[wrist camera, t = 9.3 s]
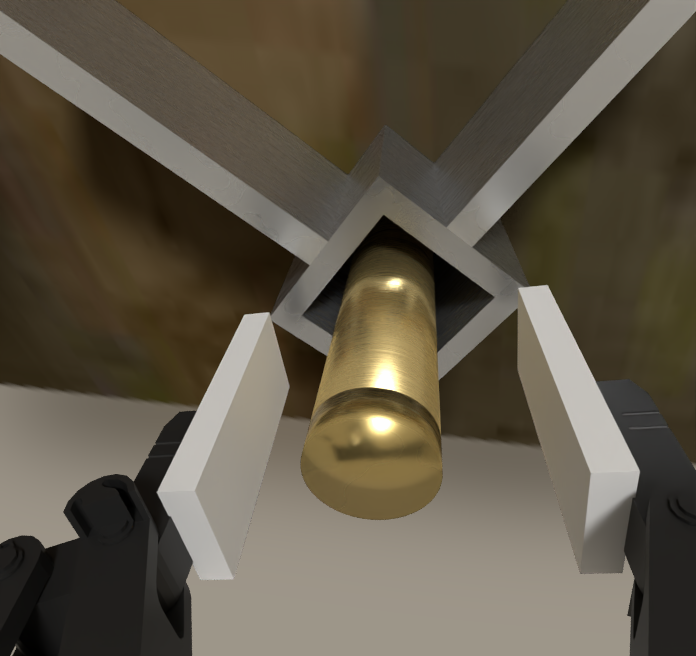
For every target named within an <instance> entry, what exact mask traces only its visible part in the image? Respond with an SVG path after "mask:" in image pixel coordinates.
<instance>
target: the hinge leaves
mask: <svg viewBox="0 0 696 656" xmlns="http://www.w3.org/2000/svg"><path fill="white" fill-rule="evenodd" d="M695 12H696V0H568V1H567V2H566V4H565V5H564V6H563V7H562V8H561V10H560V11H559V12H558V13H557V15H556V16H555V17H554V18H553V19H552V21H551V22H550V23H549V24H548V25H547V27H546V28H545V29H544V30H543V32H542V33H541V34H540V35H539V36H538V38H537V39H536V40H535V41H534V43H533V44H532V45H531V46H530V47H529V49H528V50H527V51H526V52H525V54H524V55H523V56H522V57H521V58H520V60H519V61H518V62H517V63H516V65H515V66H514V67H513V68H512V69H511V71H510V72H509V73H508V74H507V76H506V77H505V78H504V79H503V80H502V82H501V83H500V84H499V85H498V87H497V88H496V89H495V90H494V91H493V93H492V94H491V95H490V96H489V97H488V99H487V100H486V101H485V102H484V104H483V105H482V106H481V107H480V108H479V110H478V111H477V112H476V113H475V115H474V116H473V117H472V118H471V119H470V121H469V122H468V123H467V124H466V126H465V127H464V128H463V129H462V130H461V132H460V133H459V134H458V135H457V137H456V138H455V139H454V140H453V141H452V143H451V144H450V145H449V146H448V148H447V149H446V150H445V151H444V152H443V154H442V155H441V156H440V157H439V158H438V160H437V161H436V162H435V163H433V162H432V161H431V160H429V159H428V158H427V157H425V156H424V155H423V154H422V153H420V152H419V151H418V150H417V149H415V148H414V147H413V146H412V145H410V144H409V143H408V142H407V141H405V140H404V139H403V138H402V137H400V136H399V135H398V134H397V133H395V132H394V131H393V130H392V129H390V128H389V127H388V126H387V125H385V126H384V127H383V128H382V130H381V131H380V132H379V134H378V135H377V137H376V138H375V139H374V141H373V142H372V143H371V145H370V146H369V147H368V149H367V150H366V152H365V153H364V154H363V156H362V157H361V158H360V160H359V161H358V162H357V164H356V165H355V167H354V168H353V169H352V171H351V172H350V173H349V175H347V174H346V173H344V172H343V171H342V170H340V169H339V168H338V167H336V166H335V165H334V164H332V163H331V162H330V161H328V160H327V159H326V158H324V157H323V156H322V155H320V154H319V153H318V152H316V151H315V150H314V149H312V148H311V147H310V146H308V145H307V144H306V143H304V142H303V141H302V140H300V139H299V138H298V137H296V136H295V135H294V134H292V133H291V132H290V131H288V130H287V129H286V128H284V127H283V126H282V125H280V124H279V123H278V122H276V121H275V120H274V119H272V118H271V117H270V116H268V115H267V114H266V113H264V112H263V111H262V110H260V109H259V108H258V107H256V106H255V105H254V104H252V103H251V102H250V101H248V100H247V99H246V98H244V97H243V96H242V95H240V94H239V93H238V92H236V91H235V90H234V89H232V88H231V87H230V86H228V85H227V84H226V83H224V82H223V81H222V80H220V79H219V78H218V77H216V76H215V75H214V74H212V73H211V72H210V71H208V70H207V69H206V68H204V67H203V66H202V65H200V64H199V63H198V62H196V61H195V60H194V59H192V58H191V57H190V56H188V55H187V54H186V53H184V52H183V51H182V50H180V49H179V48H178V47H176V46H175V45H174V44H172V43H171V42H170V41H168V40H167V39H166V38H164V37H163V36H162V35H160V34H159V33H158V32H156V31H155V30H154V29H152V28H151V27H150V26H148V25H147V24H146V23H144V22H143V21H142V20H140V19H139V18H138V17H136V16H135V15H134V14H132V13H131V12H130V11H128V10H127V9H126V8H124V7H123V6H122V5H120V4H119V3H118V2H116V1H115V0H0V54H1V55H3V56H4V57H6V58H7V59H9V60H10V61H11V62H13V63H14V64H16V65H17V66H19V67H20V68H22V69H23V70H25V71H26V72H28V73H29V74H31V75H32V76H33V77H35V78H36V79H38V80H39V81H41V82H42V83H44V84H45V85H47V86H48V87H50V88H51V89H52V90H54V91H55V92H57V93H58V94H60V95H61V96H63V97H64V98H66V99H67V100H69V101H70V102H72V103H73V104H74V105H76V106H77V107H79V108H80V109H82V110H83V111H85V112H86V113H88V114H89V115H91V116H92V117H93V118H95V119H96V120H98V121H99V122H101V123H102V124H104V125H105V126H107V127H108V128H110V129H111V130H113V131H114V132H115V133H117V134H118V135H120V136H121V137H123V138H124V139H126V140H127V141H129V142H130V143H132V144H133V145H134V146H136V147H137V148H139V149H140V150H142V151H143V152H145V153H146V154H148V155H149V156H151V157H152V158H154V159H155V160H156V161H158V162H159V163H161V164H162V165H164V166H165V167H167V168H168V169H170V170H171V171H173V172H174V173H175V174H177V175H178V176H180V177H181V178H183V179H184V180H186V181H187V182H189V183H190V184H192V185H193V186H195V187H196V188H197V189H199V190H200V191H202V192H203V193H205V194H206V195H208V196H209V197H211V198H212V199H214V200H215V201H216V202H218V203H219V204H221V205H222V206H224V207H225V208H227V209H228V210H230V211H231V212H233V213H234V214H236V215H237V216H238V217H240V218H241V219H243V220H244V221H246V222H247V223H249V224H250V225H252V226H253V227H255V228H256V229H257V230H259V231H260V232H262V233H263V234H265V235H266V236H268V237H269V238H271V239H272V240H274V241H275V242H277V243H278V244H279V245H281V246H282V247H284V248H285V249H287V250H288V251H290V252H291V253H293V254H294V255H295V256H294V259H293V261H292V264H291V266H290V268H289V271H288V273H287V276H286V278H285V281H284V283H283V285H282V288H281V290H280V293H279V295H278V298H277V300H276V302H275V305H274V307H273V310H272V312H271V314H270V316H271V320H272V321H273V322H274V323H276V324H277V325H279V326H281V327H282V328H284V329H285V330H287V331H288V332H290V333H292V334H293V335H295V336H296V337H298V338H299V339H301V340H303V341H304V342H306V343H307V344H309V345H310V346H312V347H314V348H315V349H317V350H318V351H320V352H321V353H323V354H325V355H326V356H328V352H329V348H330V344H331V340H332V336H333V333H334V329H335V325H336V321H337V317H338V313H339V309H340V306H341V302H342V298H343V294H344V290H345V286H346V283H347V279H348V275H349V271H350V267H351V263H352V259H353V256H354V254H353V252H354V250H355V249H356V248H357V247H358V245H359V244H360V243H361V242H362V240H363V239H364V238H365V237H366V235H367V234H368V233H369V232H370V231H371V229H372V228H373V227H374V226H375V224H376V223H377V222H378V221H379V219H380V218H381V217H382V216H383V214H384V215H385V216H386V217H388V218H389V219H390V220H392V221H393V222H394V223H396V224H397V225H398V226H400V227H401V228H402V229H404V230H405V231H406V232H408V233H409V234H411V235H412V236H413V237H415V238H416V239H417V240H419V241H420V242H421V243H423V244H424V245H425V246H427V247H428V248H429V249H431V250H432V251H433V252H435V253H436V254H437V255H436V256H435V258H434V259H433V263H434V286H435V309H436V332H437V355H438V379H439V380H440V379H441V378H442V377H443V376H444V375H445V374H446V373H447V372H448V371H449V370H451V369H452V368H453V367H454V366H455V365H456V364H457V363H458V362H459V361H460V360H461V359H462V358H464V357H465V356H466V355H467V354H468V353H469V352H470V351H471V350H472V349H473V348H474V347H475V346H477V345H478V344H479V343H480V342H481V341H482V340H483V339H484V338H485V337H486V336H487V335H488V334H490V333H491V332H492V331H493V330H494V329H495V328H496V327H497V326H498V325H499V324H500V323H501V322H503V321H504V320H505V319H506V318H507V317H508V316H509V315H510V314H511V313H512V312H513V311H514V310H516V309H517V308H518V288H523V287H530V286H529V284H528V282H527V280H526V277H525V275H524V273H523V270H522V268H521V266H520V263H519V261H518V259H517V257H516V254H515V252H514V250H513V247H512V245H511V243H510V240H509V238H508V236H507V233H506V231H505V229H504V227H503V224H502V222H501V220H500V217H501V216H502V215H503V214H504V213H505V212H506V211H507V210H508V209H509V208H510V207H511V206H512V205H513V204H514V203H515V201H516V200H517V199H518V198H519V197H520V196H521V195H522V194H523V193H524V192H525V191H526V190H527V189H528V188H529V187H530V186H531V185H532V184H533V182H534V181H535V180H536V179H537V178H538V177H539V176H540V175H541V174H542V173H543V172H544V171H545V170H546V169H547V168H548V167H549V166H550V165H551V164H552V162H553V161H554V160H555V159H556V158H557V157H558V156H559V155H560V154H561V153H562V152H563V151H564V150H565V149H566V148H567V147H568V146H569V145H570V143H571V142H572V141H573V140H574V139H575V138H576V137H577V136H578V135H579V134H580V133H581V132H582V131H583V130H584V129H585V128H586V127H587V126H588V124H589V123H590V122H591V121H592V120H593V119H594V118H595V117H596V116H597V115H598V114H599V113H600V112H601V111H602V110H603V109H604V108H605V107H606V106H607V104H608V103H609V102H610V101H611V100H612V99H613V98H614V97H615V96H616V95H617V94H618V93H619V92H620V91H621V90H622V89H623V88H624V87H625V85H626V84H627V83H628V82H629V81H630V80H631V79H632V78H633V77H634V76H635V75H636V74H637V73H638V72H639V71H640V70H641V69H642V68H643V67H644V65H645V64H646V63H647V62H648V61H649V60H650V59H651V58H652V57H653V56H654V55H655V54H656V53H657V52H658V51H659V50H660V49H661V48H662V46H663V45H664V44H665V43H666V42H667V41H668V40H669V39H670V38H671V37H672V36H673V35H674V34H675V33H676V32H677V31H678V30H679V29H680V27H681V26H682V25H683V24H684V23H685V22H686V21H687V20H688V19H689V18H690V17H691V16H692V15H693V14H694V13H695Z"/></svg>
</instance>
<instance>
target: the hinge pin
mask: <svg viewBox="0 0 696 656" xmlns="http://www.w3.org/2000/svg"><path fill="white" fill-rule="evenodd" d="M301 472H302V476H303V478H304V481H305V483H306V485H307V486H308V488H309V489H310V491H311V492H312V493H313V494H314V495H315V496H316V497H317V498H318V499H319V500H320V501H322V502H323V503H325V504H326V505H328V506H329V507H331V508H333V509H335V510H337V511H339V512H341V513H344V514H346V515H350V516H353V517H357V518H362V519H371V520H386V519H394V518H399V517H403V516H407V515H409V514H412V513H414V512H416V511H418V510H420V509H422V508H423V507H425V506H426V505H427V504H428V503H429V502H431V501H432V499H433V498H434V497H435V496H436V494H437V493H438V491H439V489H440V486H441V482H442V450H441V425H440V402H439V379H438V355H437V332H436V309H435V286H434V263H433V251H432V250H431V249H429V248H428V247H427V246H425V245H424V244H423V243H421V242H420V241H419V240H417V239H416V238H415V237H413V236H412V235H411V234H409V233H408V232H406V231H405V230H404V229H402V228H401V227H400V226H398V225H397V224H396V223H394V222H393V221H392V220H390V219H389V218H388V217H386V216H385V215H384V214H383V216H382V217H381V218H380V219H379V221H378V222H377V223H376V224H375V226H374V227H373V228H372V229H371V231H370V232H369V233H368V234H367V235H366V237H365V238H364V239H363V240H362V242H361V243H360V244H359V245H358V247H357V248H356V249H355V252H354V256H353V259H352V263H351V267H350V271H349V275H348V279H347V283H346V286H345V290H344V294H343V298H342V302H341V306H340V309H339V313H338V317H337V321H336V325H335V329H334V333H333V336H332V340H331V344H330V348H329V352H328V356H327V359H326V363H325V367H324V371H323V375H322V379H321V383H320V386H319V390H318V394H317V398H316V402H315V406H314V409H313V413H312V417H311V421H310V425H309V429H308V433H307V437H306V440H305V444H304V448H303V452H302V456H301Z"/></svg>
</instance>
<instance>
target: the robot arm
mask: <svg viewBox="0 0 696 656" xmlns="http://www.w3.org/2000/svg"><path fill="white" fill-rule="evenodd" d="M518 372H519V376H520V379H521V382H522V385H523V389H524V392H525V395H526V399H527V402H528V405H529V408H530V412H531V415H532V418H533V421H534V425H535V428H536V431H537V434H538V438H539V441H540V444H541V448H542V451H543V454H544V457H545V461H546V464H547V467H548V470H549V474H550V477H551V480H552V483H553V486H554V490H555V493H556V496H557V500H558V503H559V506H560V510H561V513H562V516H563V519H564V522H565V526H566V529H567V532H568V535H569V539H570V542H571V545H572V548H573V552H574V555H575V559H576V561H577V565H578V568H579V572H580V573H581V574H594V573H622V572H623V566H624V561H625V555H626V557H627V560H628V563H629V565H630V568H631V570H632V573H633V575H634V578H635V579H634V584H633V589H632V594H631V600H630V605H629V610H628V616H631V634H630V656H696V470H695V468H694V467H693V465H692V463H691V462H690V460H689V459H688V457H687V455H686V454H685V452H684V450H683V449H682V447H681V446H680V444H679V442H678V441H677V439H676V437H675V436H674V434H673V433H672V431H671V429H670V428H668V424H667V423H666V421H665V420H664V418H663V416H662V415H661V414H659V410H658V408H657V407H656V405H655V403H654V402H653V400H652V398H651V397H650V395H649V394H648V393H647V392H646V391H644V390H643V389H642V388H640V387H639V386H638V385H636V384H635V383H634V382H632V381H631V380H630V379H627V380H613V381H598V382H595V380H594V378H593V376H592V374H591V372H590V370H589V368H588V366H587V364H586V362H585V360H584V358H583V355H582V353H581V351H580V349H579V347H578V345H577V343H576V341H575V339H574V337H573V335H572V333H571V331H570V329H569V327H568V325H567V323H566V321H565V319H564V317H563V315H562V313H561V311H560V309H559V307H558V305H557V303H556V301H555V299H554V297H553V295H552V293H551V291H550V289H549V287H548V285H544V286H534V287H523V288H518ZM289 387H290V386H289V383H288V379H287V375H286V372H285V368H284V364H283V361H282V357H281V353H280V349H279V346H278V342H277V338H276V335H275V331H274V327H273V324H272V320H271V316H270V313H269V312H267V313H257V314H247V315H244V317H243V319H242V321H241V323H240V325H239V327H238V329H237V331H236V333H235V335H234V337H233V339H232V341H231V343H230V345H229V347H228V349H227V351H226V353H225V355H224V357H223V359H222V361H221V363H220V365H219V367H218V369H217V371H216V373H215V375H214V377H213V379H212V381H211V383H210V386H209V388H208V390H207V392H206V394H205V396H204V398H203V400H202V402H201V404H200V406H199V408H198V410H197V411H185V412H179V413H178V414H177V415H176V416H175V417H174V418H173V419H172V420H171V421H169V423H167V424H166V425H165V426H164V428H163V430H162V431H161V433H160V435H159V437H158V439H157V441H156V445H154V446H153V448H152V450H151V451H150V453H149V455H148V456H149V458H148V459H146V460H145V462H144V464H143V466H142V468H141V470H140V471H139V473H138V475H137V477H136V479H135V481H134V482H133V481H132V480H131V479H130V478H129V477H128V476H125V475H119V474H114V475H108V476H103V477H101V478H99V479H96V480H94V481H92V482H90V483H88V484H87V485H85V486H84V487H83V488H81V489H80V490H78V491H77V493H75V495H74V496H73V497H72V498H71V499H70V500H69V501H68V503H67V505H66V507H65V509H64V514H65V516H66V517H67V519H68V520H69V522H70V523H71V525H72V526H73V528H74V529H75V531H76V533H77V534H78V536H79V537H80V538H78V539H75V540H72V541H68V542H65V543H62V544H59V545H56V546H52V547H49V548H46V549H45V548H44V546H43V545H42V544H41V542H40V541H39V540H38V539H36V538H35V537H33V536H18V537H15V538H11V539H8V540H7V541H5V542H3V543H1V544H0V656H10V655H11V653H12V651H13V649H14V647H15V646H16V650H15V652H14V654H13V655H12V656H192V627H191V626H192V622H191V594H190V590H189V587H188V585H187V583H186V579H187V577H188V574H189V571H190V569H191V566H192V564H193V566H194V568H195V570H196V572H197V574H198V576H199V578H200V580H222V579H234V578H235V574H236V570H237V567H238V564H239V560H240V557H241V553H242V550H243V546H244V543H245V539H246V536H247V532H248V529H249V526H250V522H251V519H252V515H253V511H254V508H255V505H256V501H257V498H258V494H259V491H260V487H261V484H262V481H263V477H264V474H265V470H266V467H267V463H268V460H269V456H270V453H271V449H272V446H273V442H274V439H275V435H276V432H277V428H278V425H279V421H280V418H281V415H282V411H283V408H284V404H285V401H286V397H287V394H288V390H289Z"/></svg>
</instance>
